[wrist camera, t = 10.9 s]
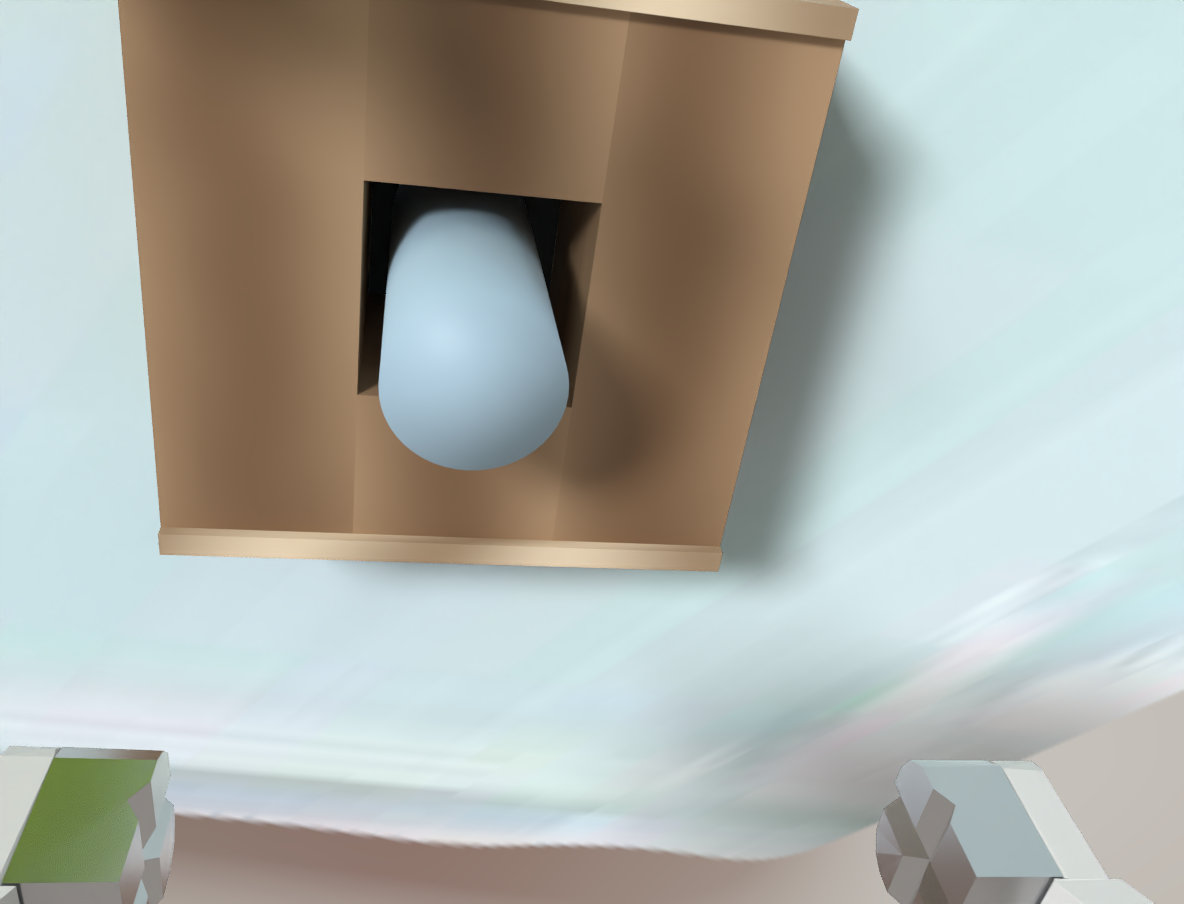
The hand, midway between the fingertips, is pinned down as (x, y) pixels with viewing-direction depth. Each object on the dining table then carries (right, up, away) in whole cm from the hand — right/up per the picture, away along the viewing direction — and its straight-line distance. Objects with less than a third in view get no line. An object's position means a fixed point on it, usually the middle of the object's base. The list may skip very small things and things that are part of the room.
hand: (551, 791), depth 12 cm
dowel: (-3, +10, +17) cm, 20 cm away
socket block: (-3, +10, +17) cm, 20 cm away
